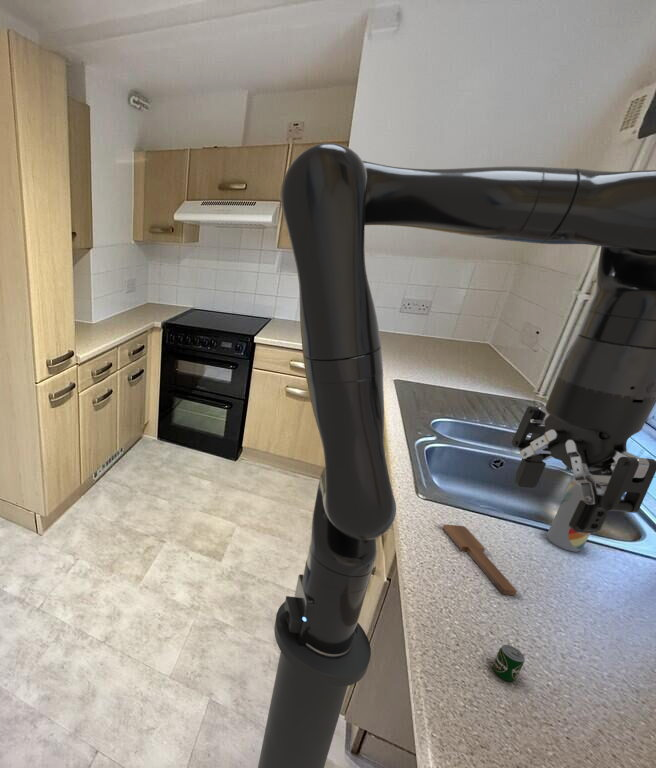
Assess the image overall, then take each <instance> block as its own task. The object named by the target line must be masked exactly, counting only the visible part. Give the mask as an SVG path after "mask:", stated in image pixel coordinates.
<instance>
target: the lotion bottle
mask: <svg viewBox="0 0 656 768" xmlns="http://www.w3.org/2000/svg"><path fill="white" fill-rule="evenodd" d="M589 473H591V474H592V475H602V471H601V469H599V470H596V471H589ZM596 488H597V493H598V494H602V492H601V487H600V485H599V484H597V483H596ZM565 491H566V492H565V494H564V496H563V498H562V500H561V502H560V504H559V507H558V509H557V511H556V513H555V516H554V517H553V520H552V522H551V524H550V527H549V528H548V531H547V532H546V533H547V534H546V538H547V540H548V541H549V542H550V543H552V544H553V545H555V547H558V548H561V549H563V550H566V551H569V552H575V553H577V552H581V551H582V550H583V548H584V547H585V546H586V544H587V541H588V539H589V537H590V536H591V533H583V532H576V531H574V530H573V529H572V528H570V527H569V523H570V521H571V519H572V516H573V514H574V512H575V510H576V508H577V506H578V504H579V502H580V500H584V499H583V494H582V489H581V485H580V483H579V482H577V481H576V480H575V478H574V477H573V478H572V479H571V481H570V483H569V485H568V487H567V489H566V490H565Z"/></svg>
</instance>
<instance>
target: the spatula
mask: <svg viewBox="0 0 656 768" xmlns="http://www.w3.org/2000/svg"><path fill="white" fill-rule="evenodd" d="M442 529H443V531H444V532H445V533H446V534H447V536H448V537H449V538H450V539H451V541H452V542H453V543H454V544H455V546H456V547H457V548H458V549H459V551H461V552H466V553H467V554H468V555H469V557H470V558H471V559H472V560H473V561H474V562H475V564H476V565H477V566H478V567H479V569H480V570H481V571H482V572H483V573H484V574H485V576H486V577H487V578H488V579H489V581H490V582H491V583H492V585H494V586H495V588H496V589H497V590H498V592H500V594H501V595H507V596H516V594H517V592H518V591H517V589H516V588H515V587H514V586H513V585H512V583H511V582H510V581H509V579H507V578H506V577H505V575H504V574H503V573H502V572H501V571H500V569H498V567H497V566H496V565H495V564H494V563H493V562H492V561H491V559H489V557H488V556H487V555H486V554H485V553H484V551H485V549H486V548H485V547H484V546H483V545H482V544H481V542H479V540H478V539H477V538H476V537H475V535H473V534H472V532H470V530H469V529H468V528H467V527H466V526H465V525H455V524H443V526H442Z"/></svg>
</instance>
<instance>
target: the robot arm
mask: <svg viewBox="0 0 656 768" xmlns="http://www.w3.org/2000/svg"><path fill="white" fill-rule="evenodd" d="M279 195H280V207H281V210H282V214H283V217H284V222H285V225H286V229H287V233H288V236H289V240H290V241H289V242H290V245H291V250H292V254H293V258H294V262H295V268H296V272H297V279H298V290H299V291H298V292H299V323H300V336H301V337H300V338H301V348H302V358H303V359H302V360H303V365H304V373H305V379H306V384H307V389H308V395H309V398H310V403H311V407H312V412H313V416H314V419H315V423H316V427H317V430H318V433H319V437H320V440H321V444H322V450H323V456H324V468H323V470H322V472H321V474H320V476H319V480H318V485H317V489H316V496H315V500H314V501H315V502H314V506H313V507H314V508H313V513H312V518H311V519H312V520H311V531H310V532H311V533H310V534H311V535H310V541H309V545H308V551H307V556H306V560H305V566H304V570H303V574H300V573H299V575H298V577H297V581H296V586H295V592H294V596H289V595H286V596H285V600H284V602H285V605H284V608H285V612H284V613H282V614H281V615H280V618H279V620H280V623H281V624H282V626H283V627H284V628H287V627H288V626H289V631H290V632H294V633H295V634H296V639H297V643H298V645H299V646H304V647H306V648H308V649H309V650H310V651H312V652H313V653H315V654H317V655H319V656H322V657H325V658H331V659H337V658H342V657H344V656H346V655H347V654H348V653H349V652H350V650H351V647H352V643H353V638H354V634H355V631H356V634H357V630H358V627H357V623H359V620H360V615H361V613H362V609H363V605H364V601H365V597H366V594H367V590H368V587H369V583H370V580H371V576H372V574H373V570H374V566H375V561H376V560H377V552H378V551H377V539H378V538H380V537H382V536H383V535H384V534H385V533H387V532H388V531H389V530H390V528H391V527H392V525H393V523H394V521H395V519H396V515H397V504H396V499H395V496H394V493H393V488H392V483H391V480H390V474H389V470H388V465H387V460H386V451H385V443H384V442H385V441H384V440H385V438H384V435H385V434H384V433H385V394H384V393H385V391H384V369H383V368H384V367H383V353H382V343H381V335H380V327H379V322H378V317H377V312H376V307H375V303H374V302H375V301H374V299H373V295H372V292H371V287H370V284H369V279H368V275H367V268H366V255H365V254H366V252H365V244H366V243H365V240H366V239H365V238H366V237H365V235H366V234H365V227H366V226H391V227H392V226H393V227H406V228H416V229H424V230H430V231H437V232H443V233H448V234H449V233H450V234H456V235H462V236H468V237H474V238H481V239H490V240H497V241H498V240H499V241H509V242H519V243H529V244H530V243H531V244H541V245H588V246H597V247H600V250H599V257H598V264H597V270H596V281H595V282H596V285H595V291H594V295H593V297H592V299H591V301H590V303H589V305H588V308H587V310H586V313H585V315H584V317H583V320H582V323H581V324H580V328H579V329H578V333H577V335H576V337H575V339H574V341H572V344H570V345H571V346H570V347H569V348H568V349H567V351H566V354H565V357H564V359H563V362H562V364H561V366H560V369H559V371H558V374H557V377H556V379H555V381H554V384H553V386H552V389H551V391H550V394H549V396H548V399H547V401H546V403H545V406H534V405H533V406H527V407H526V409H525V411H524V414H523V415H522V418H521V421H520V422H519V424H518V427H517V429H516V431H515V434H514V435H513V438H512V441H511V445H512V446H513V447H514V448H517V449H519V451H520V452H519V455H520V458H521V460H520V463H519V466H518V468H517V469H516V473H515V479H514V483H515V484H516V485H517V486H518V487H520V488H528V489H534V488H536V487H537V486H538V484H539V482H540V479H541V477H542V474H543V472H544V470H545V468H546V465H547V463H546V462H545V461H548V460H549V459H551V458H554V459H555V460H558V461H561V462H562V463H563V464H564V465H565V466H566V467H567V468H569V469H571V470H572V474H573V478H575V480H576V481H577V482H579V483H580V485H581V489H582V494H583V499H584V500H580V502H579V504H578V506H577V508H576V510H575V512H574V514H573V516H572V519H571V521H570V523H569V527H570V528H572V529H573V530H574V531H576V532H583V533H590V534H593V533H597V532H599V531H600V530H601V529H602V527H603V525H604V522H605V521H606V519H607V517H608V515H609V514H610V512H621V513H622V512H624V513H631V514H636V513H638V512H639V510H640V508H641V506H642V504H643V501H644V499H645V497H646V495H647V493H648V490H649V488H650V487H651V484H652V482H653V479H654V478H655V475H656V460H655V459H653V458H647V457H640V456H637V455H635V454H633V453H630V452H628V450H627V445H628V444H627V443H628V440H629V439H630V438H631V437H632V436H634V435H636V434H637V433H640V432H641V431H642V430H643V427H644V425H645V424H646V422H647V419H648V417H649V415H650V413H651V411H652V409H653V407H654V405H655V404H656V169H650V170H649V169H647V170H626V171H625V170H624V171H612V170H611V171H609V170H596V169H586V168H576V167H575V168H573V167H553V166H551V167H549V166H548V167H547V166H480V167H461V168H460V167H457V168H411V167H409V168H408V167H398V166H392V165H387V164H386V165H385V164H380V163H377V162H376V163H375V162H371V161H366V160H362V158H361V157H360V156H359V154H358V153H357V152H355V150H353V149H352V148H350V147H348V146H345V145H344V144H340V143H335V142H323V143H318V144H315V145H312V146H310V147H309V148H307V149H305V150H304V151H303V152H301V153H300V154H299V155H297V157H296V158H295V159H294V160H293V161H292V163H291V164H290V165H289V167H288V169H287V171H286V172H285V175H284V176H283V179H282V183H281V186H280V193H279ZM529 434H531V435H530V437H529V438H527V437H528V435H529ZM599 469H601V471H602V475H592V474H591V473H589V471H596V470H599ZM596 483H597V484H599V485H600V487H601V492H602V494H598V493H597V488H596ZM624 494H625V496H624ZM623 496H624V497H623ZM286 618H287V622H288V624H287V622H286V621H285V619H286Z"/></svg>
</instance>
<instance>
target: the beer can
mask: <svg viewBox="0 0 656 768" xmlns="http://www.w3.org/2000/svg"><path fill="white" fill-rule="evenodd" d="M524 663H525V655H524V654H523V653H522V651H520V650H519V648H516V647H515V646H513V645H510V644H502V646H501V647H500V648H499V649H498V651H497V654H496V656H495V657H494V661H493V662H492V666H491V668H492V670H493V672H494V674H496V675H497V676H498V677H499V678H501V679H503V680H505V681H507V682H515V681H516V680H517V677H518V676H519V674H520V672H521V670H522V668H523V666H524Z"/></svg>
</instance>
